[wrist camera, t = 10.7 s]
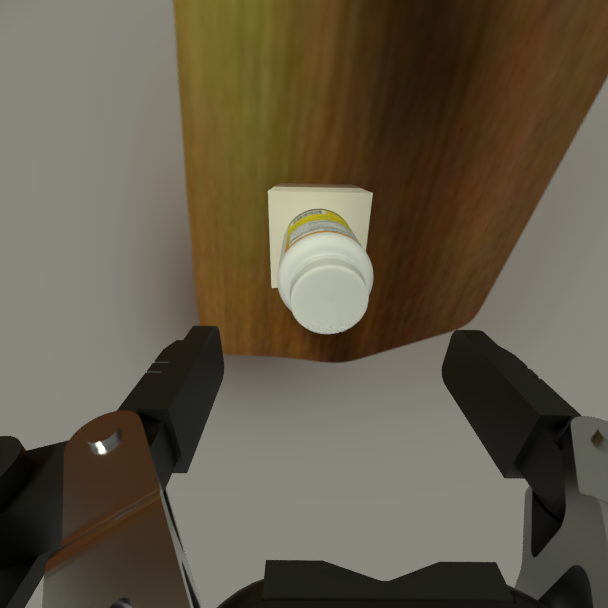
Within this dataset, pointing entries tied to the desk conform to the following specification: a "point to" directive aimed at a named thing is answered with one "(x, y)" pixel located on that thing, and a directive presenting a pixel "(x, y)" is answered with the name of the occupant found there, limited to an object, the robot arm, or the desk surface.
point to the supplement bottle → (324, 272)
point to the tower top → (299, 199)
